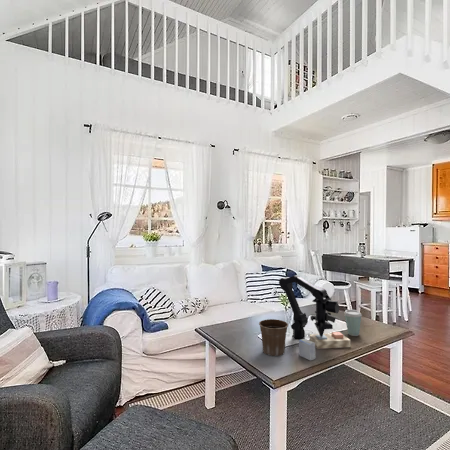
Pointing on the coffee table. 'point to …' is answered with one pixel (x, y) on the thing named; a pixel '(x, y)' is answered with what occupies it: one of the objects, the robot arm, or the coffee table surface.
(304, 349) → the medicine box
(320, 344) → the key console
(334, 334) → the terracotta key
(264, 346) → the plant pot
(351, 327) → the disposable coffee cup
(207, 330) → the coffee table surface
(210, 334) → the coffee table surface
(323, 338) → the blue grey key
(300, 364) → the coffee table surface
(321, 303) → the robot arm
